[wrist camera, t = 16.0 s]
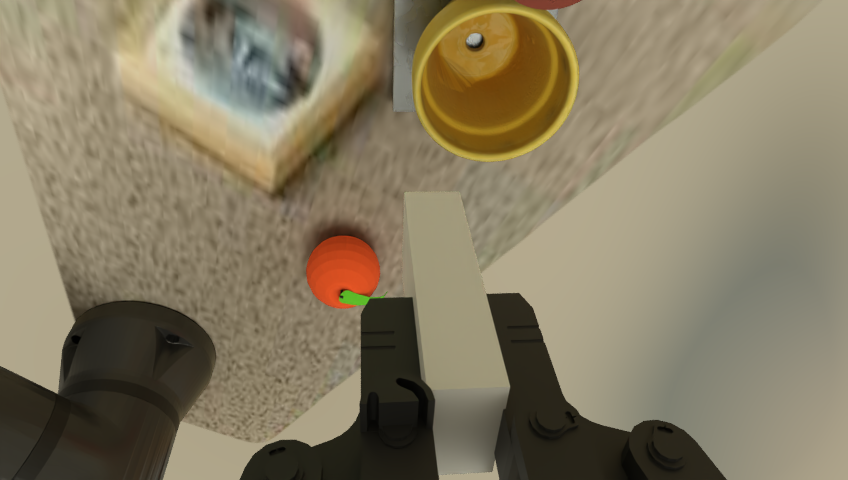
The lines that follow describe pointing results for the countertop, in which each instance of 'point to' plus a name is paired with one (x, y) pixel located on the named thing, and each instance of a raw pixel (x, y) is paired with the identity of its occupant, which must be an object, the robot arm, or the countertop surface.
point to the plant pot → (493, 79)
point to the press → (415, 44)
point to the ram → (547, 3)
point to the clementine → (343, 272)
